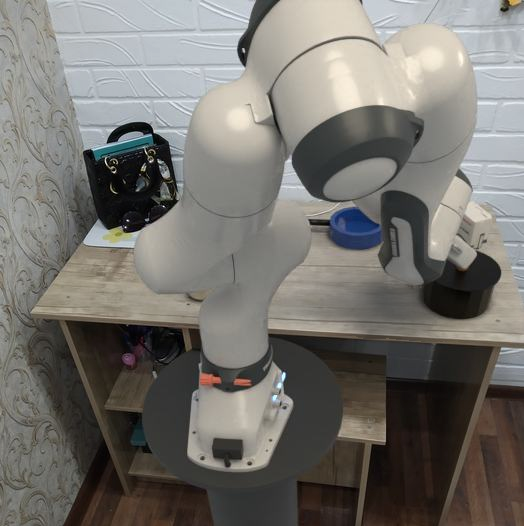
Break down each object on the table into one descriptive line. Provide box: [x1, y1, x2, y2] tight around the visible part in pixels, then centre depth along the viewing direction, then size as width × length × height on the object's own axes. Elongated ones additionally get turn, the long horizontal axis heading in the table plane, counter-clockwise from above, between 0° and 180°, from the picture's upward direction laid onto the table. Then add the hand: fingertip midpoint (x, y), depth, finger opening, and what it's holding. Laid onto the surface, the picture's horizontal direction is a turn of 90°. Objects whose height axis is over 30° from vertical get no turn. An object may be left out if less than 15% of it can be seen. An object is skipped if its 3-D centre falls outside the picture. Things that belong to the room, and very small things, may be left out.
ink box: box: [456, 200, 494, 254], centre depth 130 cm, size 9×5×12 cm, turn 18°
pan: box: [328, 206, 384, 251], centre depth 141 cm, size 14×14×4 cm
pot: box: [422, 281, 496, 320], centre depth 120 cm, size 14×14×8 cm
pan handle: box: [308, 218, 330, 227], centre depth 143 cm, size 2×11×2 cm, turn 81°
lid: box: [433, 250, 502, 292], centre depth 116 cm, size 15×15×6 cm
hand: (443, 247), depth 108 cm, fingers open, 8 cm apart
